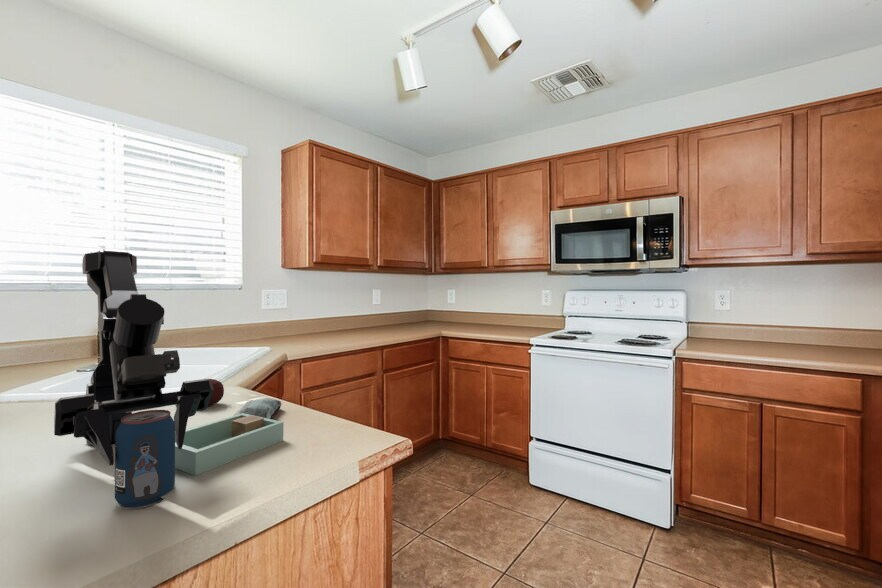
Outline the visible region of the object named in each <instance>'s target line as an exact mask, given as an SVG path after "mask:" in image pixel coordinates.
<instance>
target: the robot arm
mask: <svg viewBox="0 0 882 588" xmlns="http://www.w3.org/2000/svg"><path fill="white" fill-rule="evenodd" d="M137 257H138V256H136V255H133V253H132V252H131V251H130V252H129V251H128V250H124V249H123V250H120V249H110V248H109V249H107V248H104V249H102V250H100V249H99V250H98V251H96V252H95V251H94V252H89V253H85V254H83V256H82V275H86V284H87V286H88V287H89V288H90V289H91V290H92V291H93V292H94V293H95V295H97V312H98V313H97V314H98V315H97V330H98V335H99V338H98V339H99V359H100V362H99V364H98V365H97V367H95V369H94V371H93V372H92V374H91V377H90V383H87V384H86V389H85V394H79V395H71V396H64V397H60V398H59V399H58V400H56V402H55V403H54V415H53V420H54V421H53V427H54V428H53V431H54V432H53V433H54V436H58V437H62V436H68V435H72V434H73V437H74V438H77V439H78V438H84V439H85V440H86V444H88V445H91V446H93V447H94V448H95V449H96V450H97V452H98V453H99V454H100V455H101V457H102V458H103V459H104V461H105V462H106V463H107V465H108V467H109V466H113V465H114V464H115V455H114V449H113V445H115V432H116V430H117V428H118V427H119V425H120V423H121V418H122V417H124V416H126V415H129V414H132V413H135V412H140V411H147V410H153V409H157V408H164V407H170V406H175V408H176V409H175V412H174V415H173V420H174V422H175V435H176V443H177V446H178V449H182V446H183V442H184V437H185V431H186V430H187V426H188V425H187V424H188V421H189V420H188V419H189V418H191V417H194V416H195V415H196V413H197V412H202V411H204V410H206V409H207V408H208V407H209V406H208V404H209V402H210V399H211V397H212V394H213V392H214V389H213V385H212V382H210V381H209V380H208V379H209V378H203V379H193V380H186V381H183V382H182V384H181V386H180V390H179V391H172V392H171V391H170V392H165V393H163V392H162V389H165V388H166V383H167V382H166V379H165V377H166V376H167V375H168V374H175V373H177V372H178V371H179V370H180V368H181V363H180V360H181V359H180V355H179V353H178V352H179V351H178V350H176V349H175V350H164V351H163V353H162V354H161V353H158V354H157V353H156V354H155V346H154V345H155V344H157V342H158V339H159V336H160V332H161V328H162V325H165V324H164V323H165V319H164V318H165V317H164V316H165V308H164V307H163V306H162V305H161V304H159V302H157V301H156V300H152V299H149V298H148V297H147V294H146V293H139V292H138V289H137V288H138V287H137V284H136V280H135V275H137V274H138V263H137V262H138V261H137V259H138V258H137Z"/></svg>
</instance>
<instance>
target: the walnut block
mask: <svg viewBox="0 0 882 588" xmlns="http://www.w3.org/2000/svg"><path fill="white" fill-rule="evenodd" d="M262 427H264V418H260V417H256V416H251V415H249V416H246V417H243V418H239V419H236V420H233V421H232V438H233V437H236V436H239V435H241V434H244V433H247V432H250V431H253V430H256V429H259V428H262Z"/></svg>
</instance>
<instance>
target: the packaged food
mask: <svg viewBox="0 0 882 588" xmlns="http://www.w3.org/2000/svg"><path fill="white" fill-rule="evenodd" d="M281 407H282V402H281V400H278V399H273V398H268V397H267V398H258V399H257V398H256V399H252V400H249V401H247V402H245V403H244V405H243V406H242V407H241V408H240V409H239V410H237V412H235V413H234V414H233V415H232V416H235V415H238V414H242V413H245V414H249V415H254V416H258V417H263V418H267V419H272V420H273V418H274V416H276V414H277V413H278V412H280V409H281Z"/></svg>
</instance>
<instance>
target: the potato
mask: <svg viewBox="0 0 882 588" xmlns="http://www.w3.org/2000/svg"><path fill="white" fill-rule="evenodd" d="M207 379H208V380H209V381H210V382H212V385H213V389H214V392H213V394H212V397H211V399H210V402H209V404H208V407H211V406H214V405H216V404H217V403H219V402H220V401H221V400H222V399H223V397H224V394H225V387H224V384H223V383H222V382H221V381H219V380H218V379H213V378H207Z"/></svg>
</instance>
